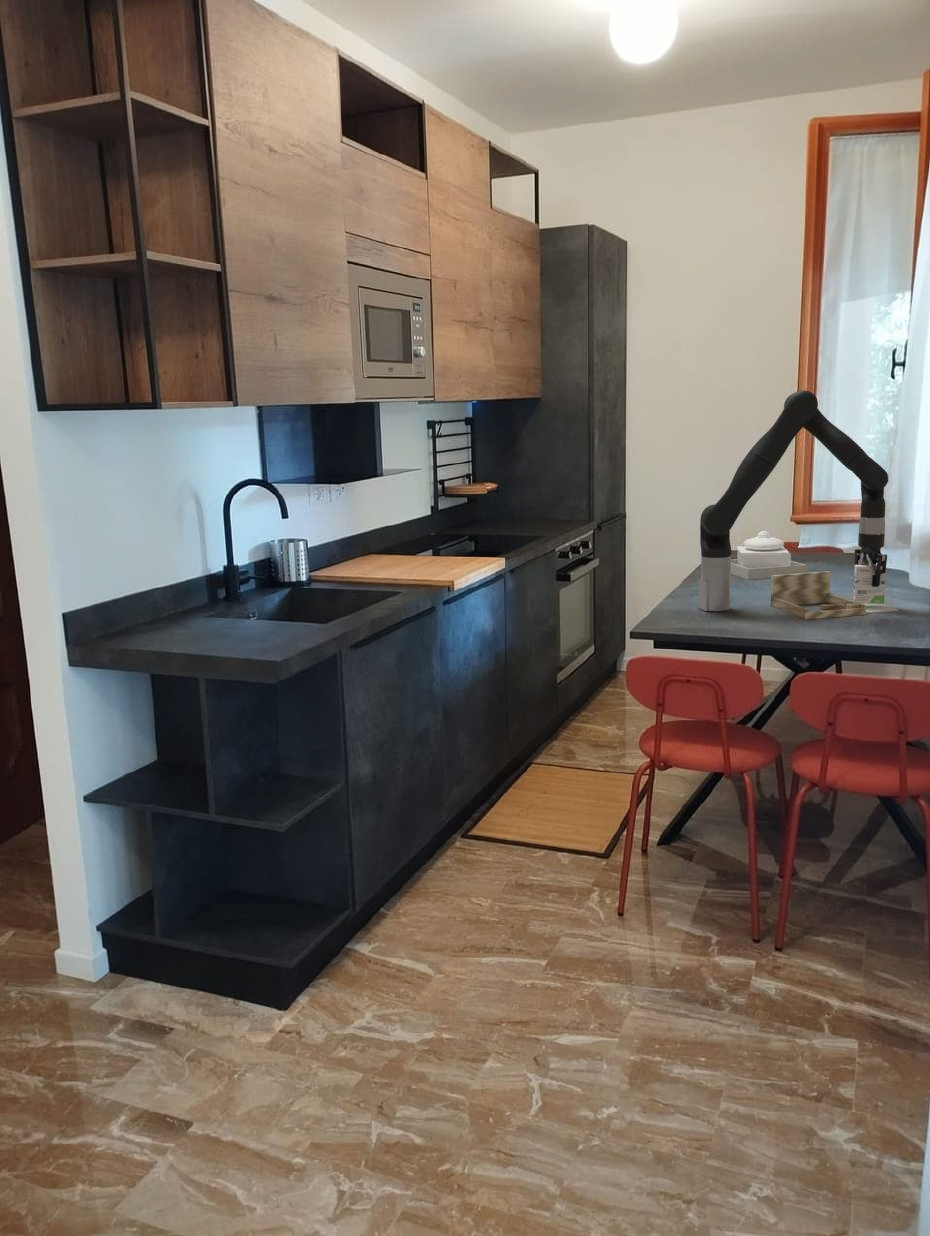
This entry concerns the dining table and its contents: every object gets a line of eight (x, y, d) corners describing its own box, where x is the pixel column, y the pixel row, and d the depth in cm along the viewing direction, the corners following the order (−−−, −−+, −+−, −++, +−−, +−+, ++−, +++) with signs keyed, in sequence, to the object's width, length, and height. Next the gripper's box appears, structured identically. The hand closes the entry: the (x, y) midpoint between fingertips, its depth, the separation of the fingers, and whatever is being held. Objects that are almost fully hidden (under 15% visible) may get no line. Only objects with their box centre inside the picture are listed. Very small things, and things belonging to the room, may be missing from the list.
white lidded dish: (790, 576, 373) (791, 533, 370) (740, 576, 376) (741, 534, 373) (783, 568, 390) (784, 527, 387) (735, 568, 393) (736, 528, 390)
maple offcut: (849, 615, 306) (850, 605, 306) (845, 613, 309) (846, 604, 308) (858, 614, 307) (859, 604, 306) (854, 612, 309) (855, 603, 308)
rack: (805, 619, 302) (807, 586, 300) (770, 606, 323) (771, 575, 321) (865, 614, 306) (867, 582, 304) (827, 601, 327) (828, 571, 325)
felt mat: (863, 613, 307) (863, 612, 307) (838, 605, 320) (838, 604, 320) (899, 610, 309) (899, 609, 309) (872, 602, 323) (872, 601, 322)
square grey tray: (748, 579, 370) (748, 569, 369) (720, 570, 392) (720, 560, 391) (806, 575, 374) (806, 564, 373) (775, 566, 396) (775, 556, 396)
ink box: (881, 601, 316) (883, 564, 313) (884, 604, 311) (886, 566, 309) (852, 600, 318) (854, 564, 315) (854, 603, 313) (856, 566, 311)
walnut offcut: (822, 610, 305) (822, 605, 305) (820, 609, 308) (820, 604, 307) (845, 610, 305) (845, 605, 305) (843, 608, 307) (843, 603, 307)
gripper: (847, 529, 316) (845, 581, 319) (874, 535, 302) (871, 589, 306) (869, 528, 317) (866, 580, 321) (896, 533, 303) (893, 587, 307)
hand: (869, 584), depth 313 cm, fingers closed on ink box, 6 cm apart
